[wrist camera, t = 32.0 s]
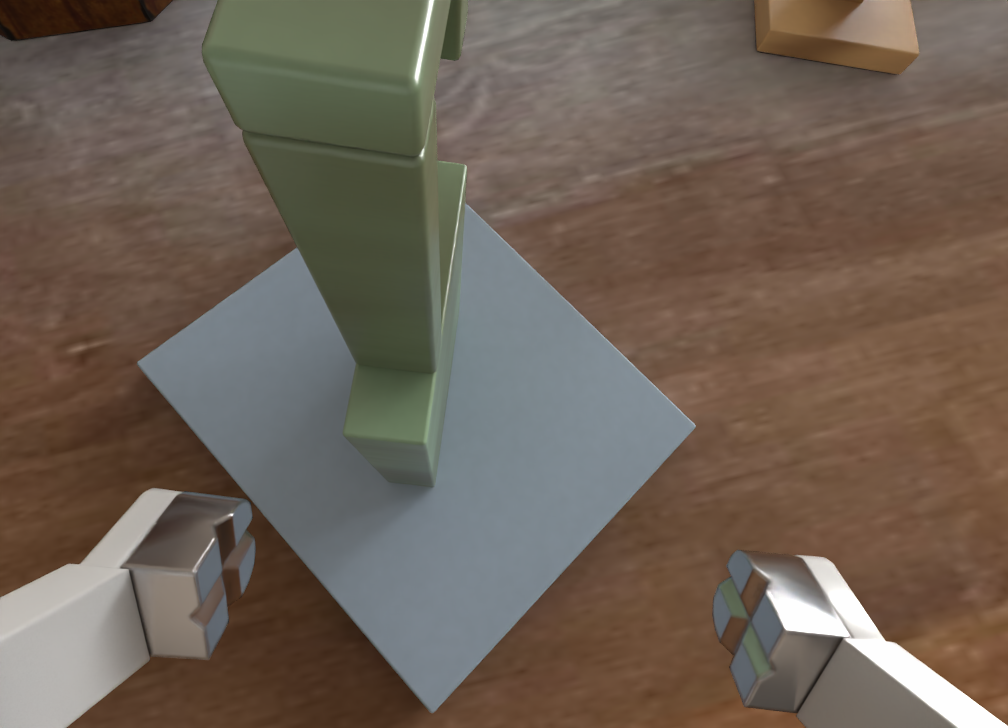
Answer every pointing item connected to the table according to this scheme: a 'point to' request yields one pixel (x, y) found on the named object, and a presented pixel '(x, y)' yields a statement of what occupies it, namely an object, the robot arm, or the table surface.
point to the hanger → (361, 191)
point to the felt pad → (462, 461)
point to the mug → (71, 15)
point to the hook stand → (839, 32)
